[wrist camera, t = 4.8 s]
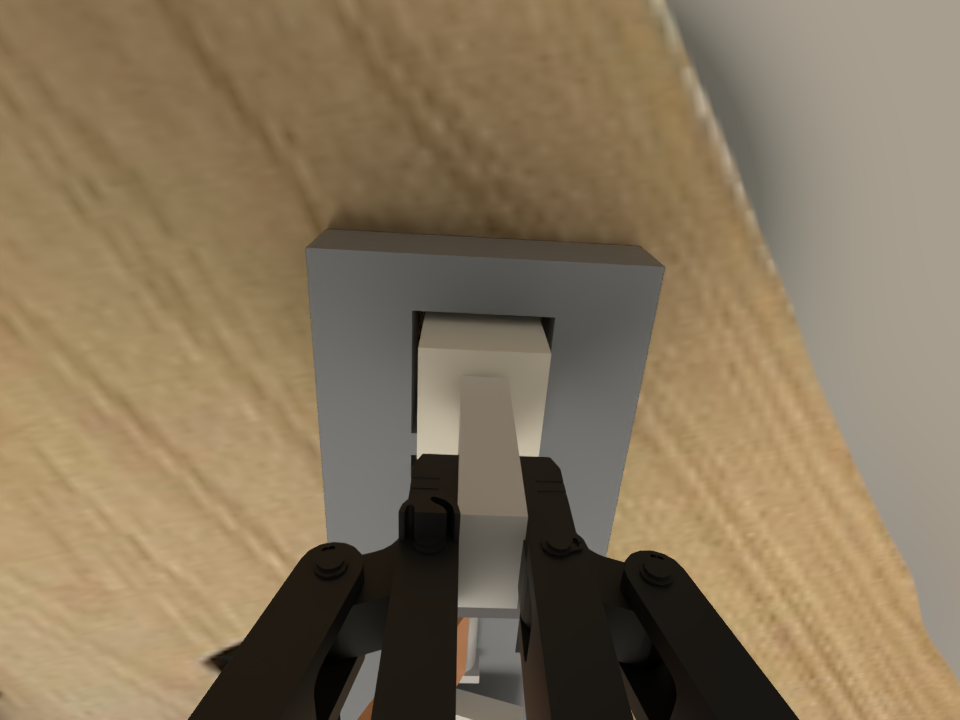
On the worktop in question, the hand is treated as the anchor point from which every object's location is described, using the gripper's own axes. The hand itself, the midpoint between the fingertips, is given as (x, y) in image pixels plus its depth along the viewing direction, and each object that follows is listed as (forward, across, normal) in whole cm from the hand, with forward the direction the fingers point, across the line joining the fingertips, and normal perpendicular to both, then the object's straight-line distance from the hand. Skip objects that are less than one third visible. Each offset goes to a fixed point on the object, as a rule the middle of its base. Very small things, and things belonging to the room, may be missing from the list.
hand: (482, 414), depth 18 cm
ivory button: (+4, 0, 0) cm, 4 cm away
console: (+6, 0, -8) cm, 10 cm away
